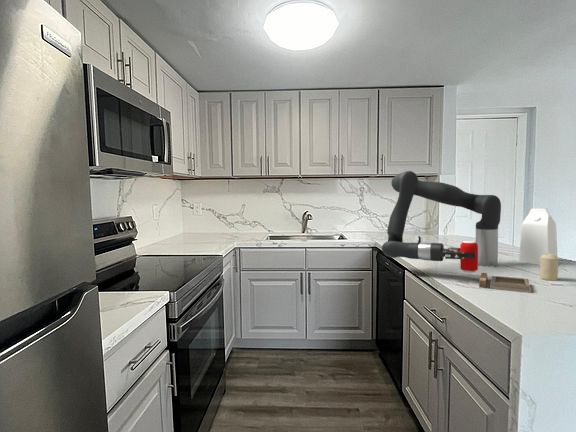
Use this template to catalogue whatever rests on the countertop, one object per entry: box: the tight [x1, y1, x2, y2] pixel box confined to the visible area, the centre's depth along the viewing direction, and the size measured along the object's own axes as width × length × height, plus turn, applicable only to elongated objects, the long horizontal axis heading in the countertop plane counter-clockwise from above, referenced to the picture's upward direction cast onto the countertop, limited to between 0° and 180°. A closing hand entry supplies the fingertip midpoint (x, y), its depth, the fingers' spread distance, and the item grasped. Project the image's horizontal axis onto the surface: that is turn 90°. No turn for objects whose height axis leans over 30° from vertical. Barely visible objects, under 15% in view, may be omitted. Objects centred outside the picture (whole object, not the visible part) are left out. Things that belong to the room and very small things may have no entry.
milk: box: [518, 208, 559, 266], centre depth 164 cm, size 12×12×26 cm
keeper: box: [489, 275, 532, 294], centre depth 125 cm, size 12×12×2 cm
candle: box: [539, 253, 559, 281], centre depth 134 cm, size 6×6×10 cm
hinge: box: [409, 234, 424, 243], centre depth 212 cm, size 17×5×10 cm, turn 169°
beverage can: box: [459, 240, 479, 273], centre depth 137 cm, size 6×6×12 cm
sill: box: [478, 272, 488, 289], centre depth 131 cm, size 14×2×2 cm, turn 148°
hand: (475, 254), depth 135 cm, fingers closed on beverage can, 6 cm apart
